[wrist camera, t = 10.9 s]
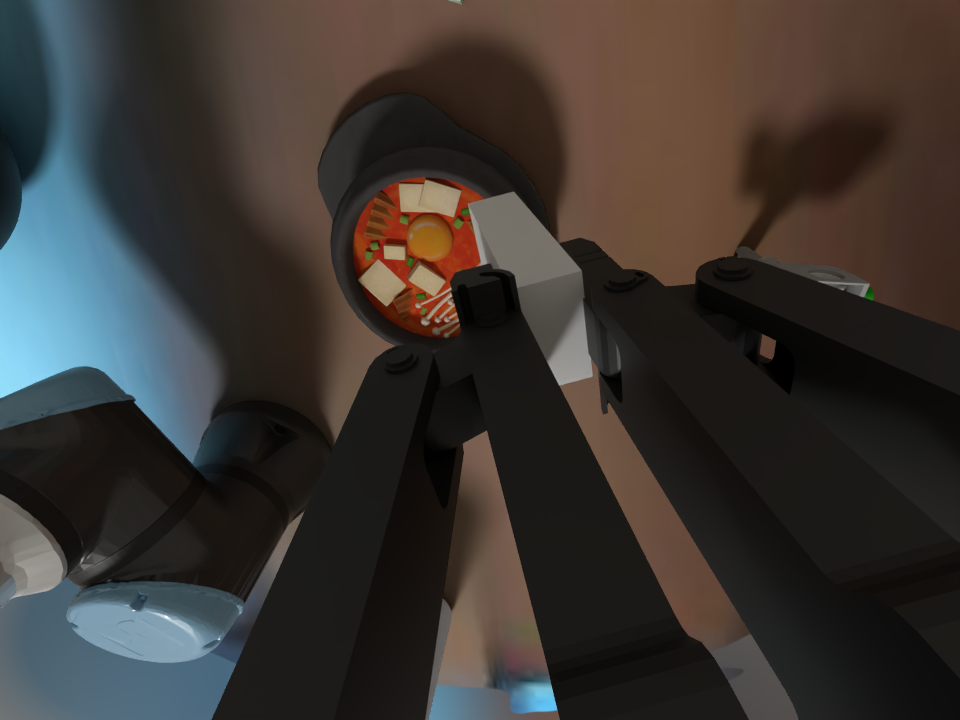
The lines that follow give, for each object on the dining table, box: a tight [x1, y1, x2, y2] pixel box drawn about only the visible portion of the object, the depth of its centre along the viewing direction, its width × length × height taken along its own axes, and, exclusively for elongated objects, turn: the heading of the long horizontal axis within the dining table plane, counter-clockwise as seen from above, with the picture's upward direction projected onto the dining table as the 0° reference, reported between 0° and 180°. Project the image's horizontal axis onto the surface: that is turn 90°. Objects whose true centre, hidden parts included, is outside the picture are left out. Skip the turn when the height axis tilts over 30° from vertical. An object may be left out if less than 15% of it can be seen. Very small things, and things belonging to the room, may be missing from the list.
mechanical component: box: [736, 246, 874, 300], centre depth 38 cm, size 3×10×10 cm, turn 88°
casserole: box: [318, 92, 550, 353], centre depth 41 cm, size 25×19×8 cm
